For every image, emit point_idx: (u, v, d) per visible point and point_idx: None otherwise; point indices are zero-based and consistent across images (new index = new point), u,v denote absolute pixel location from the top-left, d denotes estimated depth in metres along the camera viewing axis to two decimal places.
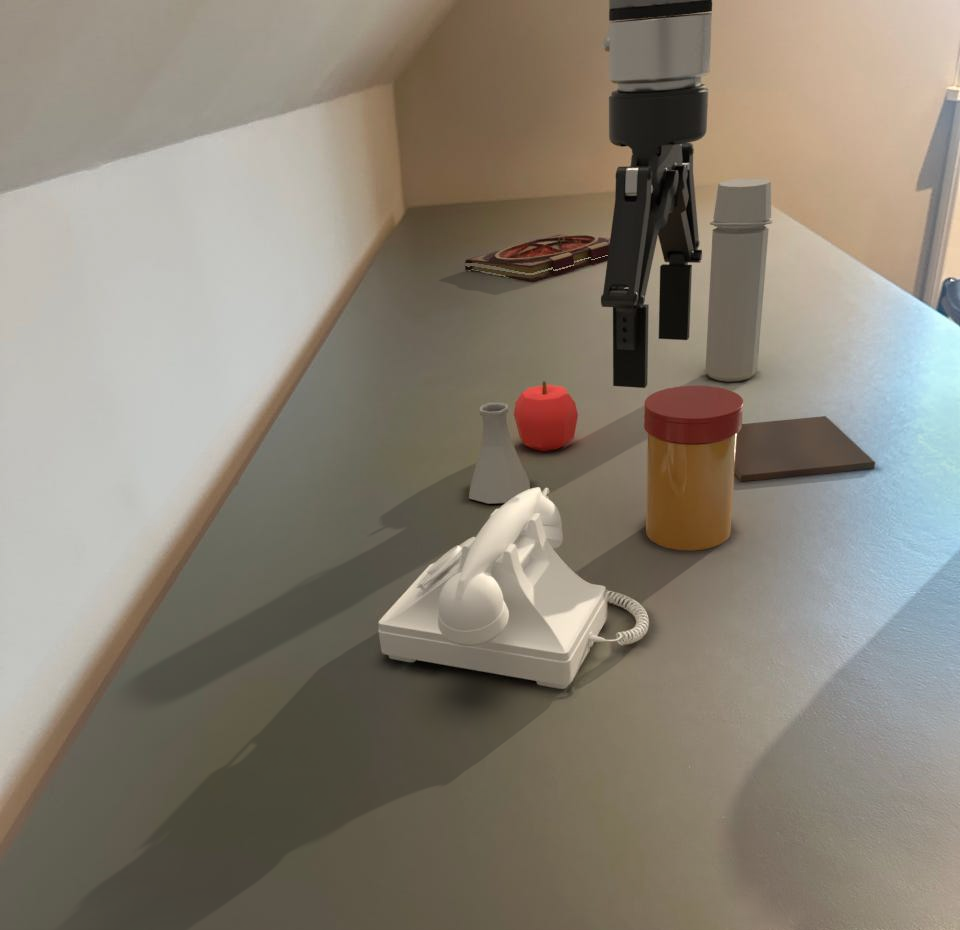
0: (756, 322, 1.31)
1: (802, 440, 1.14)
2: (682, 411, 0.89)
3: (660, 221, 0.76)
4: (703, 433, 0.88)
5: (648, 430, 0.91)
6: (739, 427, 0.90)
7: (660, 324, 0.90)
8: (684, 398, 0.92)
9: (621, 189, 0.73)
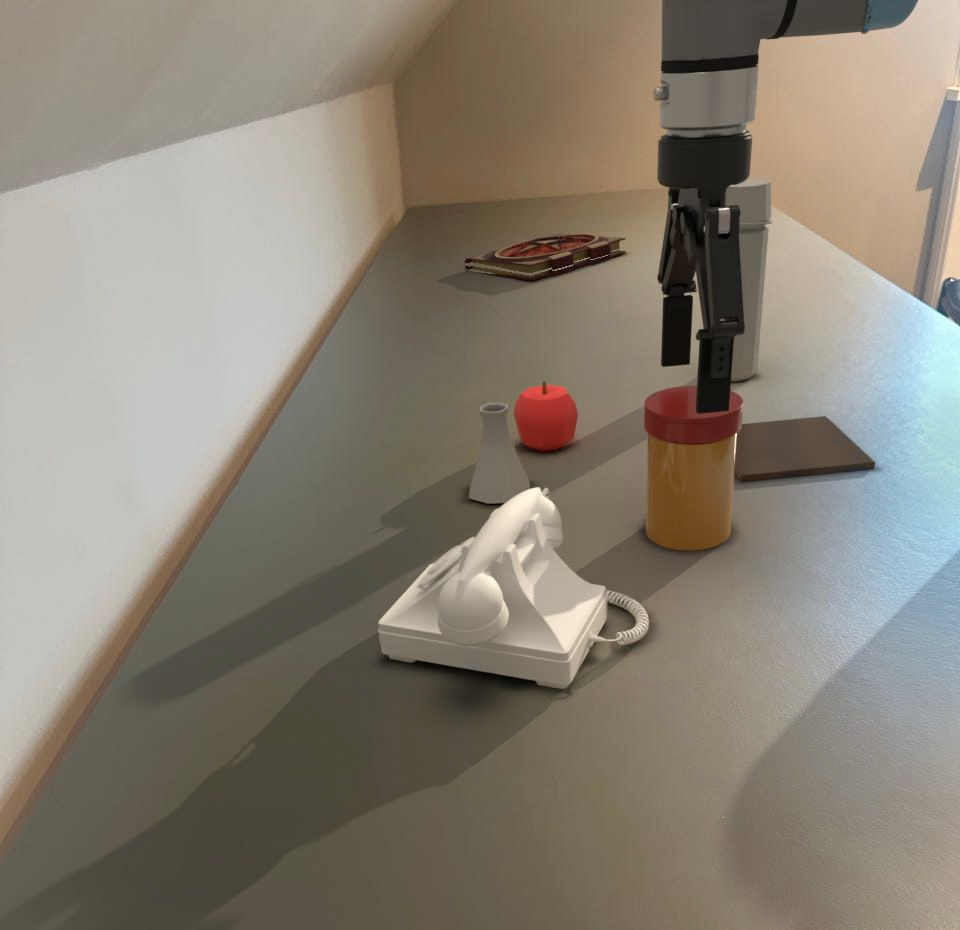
0: (756, 322, 1.31)
1: (802, 440, 1.14)
2: (682, 411, 0.89)
3: None
4: (703, 433, 0.88)
5: (648, 430, 0.91)
6: (739, 427, 0.90)
7: (664, 353, 0.95)
8: (684, 398, 0.92)
9: (715, 228, 0.76)
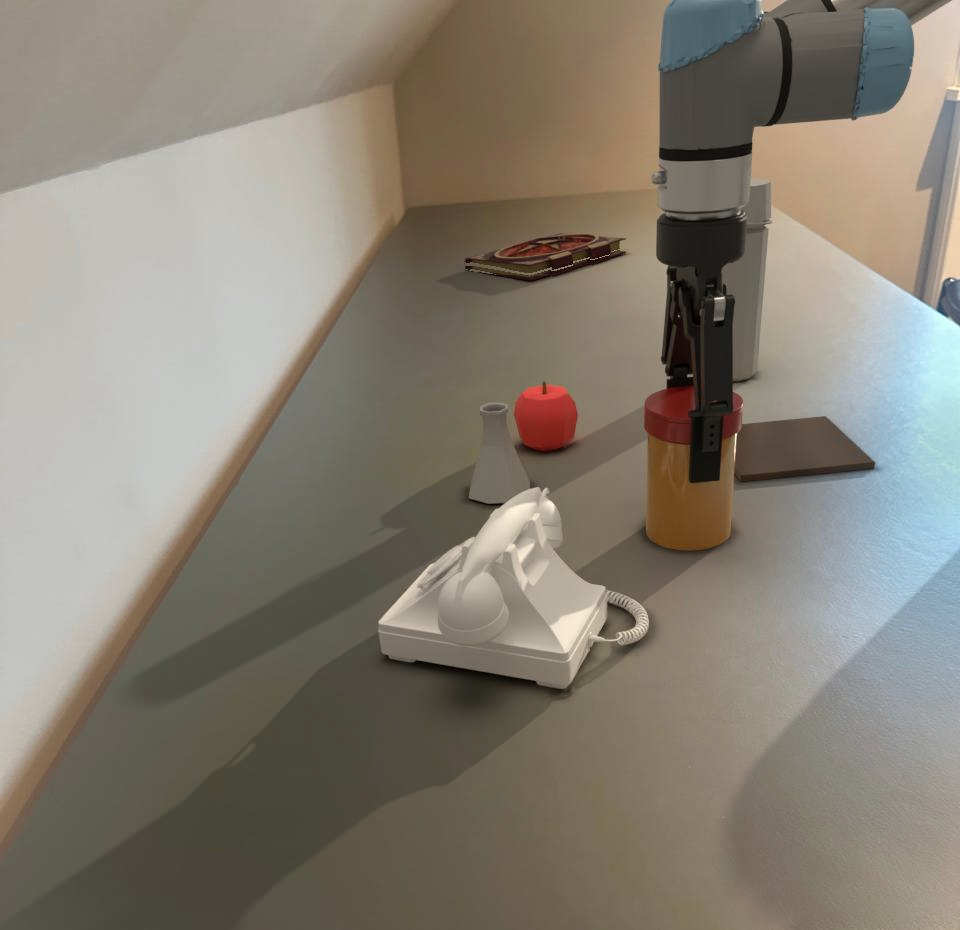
0: (756, 322, 1.31)
1: (802, 440, 1.14)
2: (682, 411, 0.89)
3: None
4: None
5: (648, 430, 0.91)
6: (739, 427, 0.90)
7: None
8: (684, 398, 0.92)
9: (710, 317, 0.80)
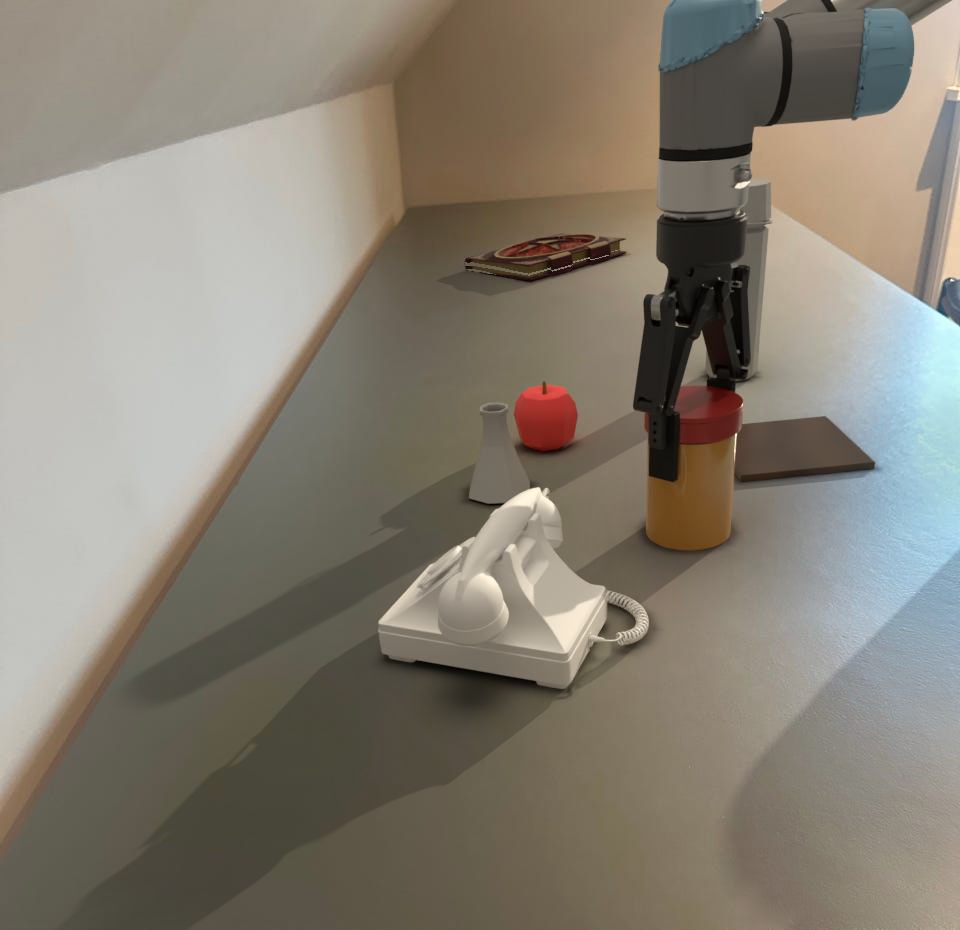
0: (756, 322, 1.31)
1: (802, 440, 1.14)
2: (722, 397, 0.91)
3: None
4: None
5: (739, 428, 0.90)
6: None
7: None
8: (692, 406, 0.90)
9: None
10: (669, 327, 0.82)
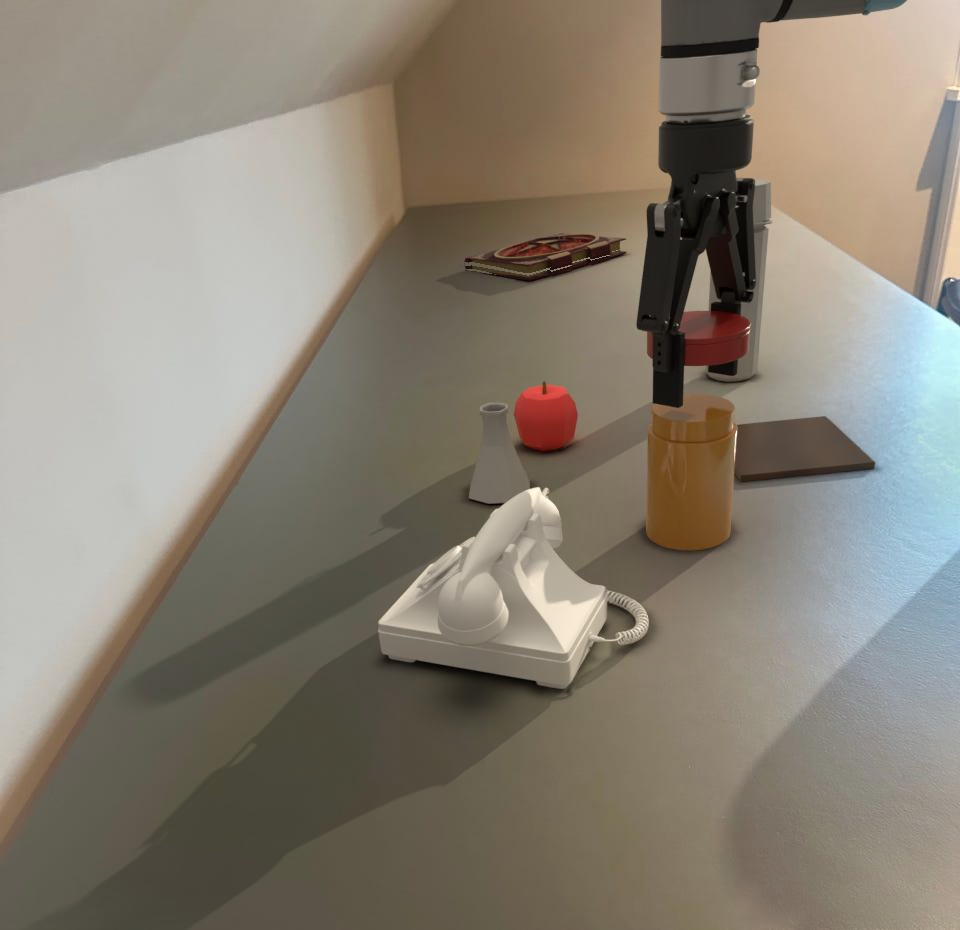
0: (756, 322, 1.31)
1: (802, 440, 1.14)
2: (727, 319, 0.88)
3: None
4: None
5: (746, 350, 0.86)
6: None
7: None
8: (697, 328, 0.86)
9: None
10: (674, 237, 0.78)
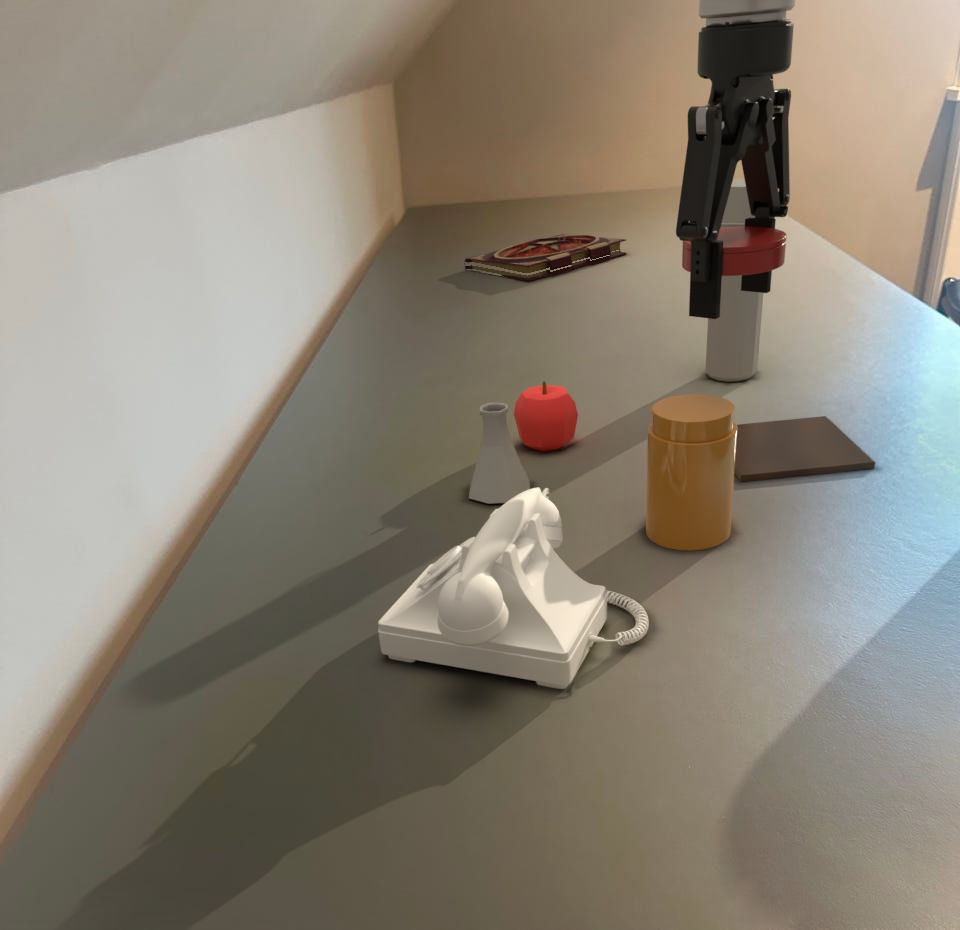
0: (756, 322, 1.31)
1: (802, 440, 1.14)
2: (762, 232, 0.88)
3: None
4: None
5: (783, 261, 0.87)
6: None
7: None
8: (734, 239, 0.87)
9: None
10: (715, 140, 0.79)
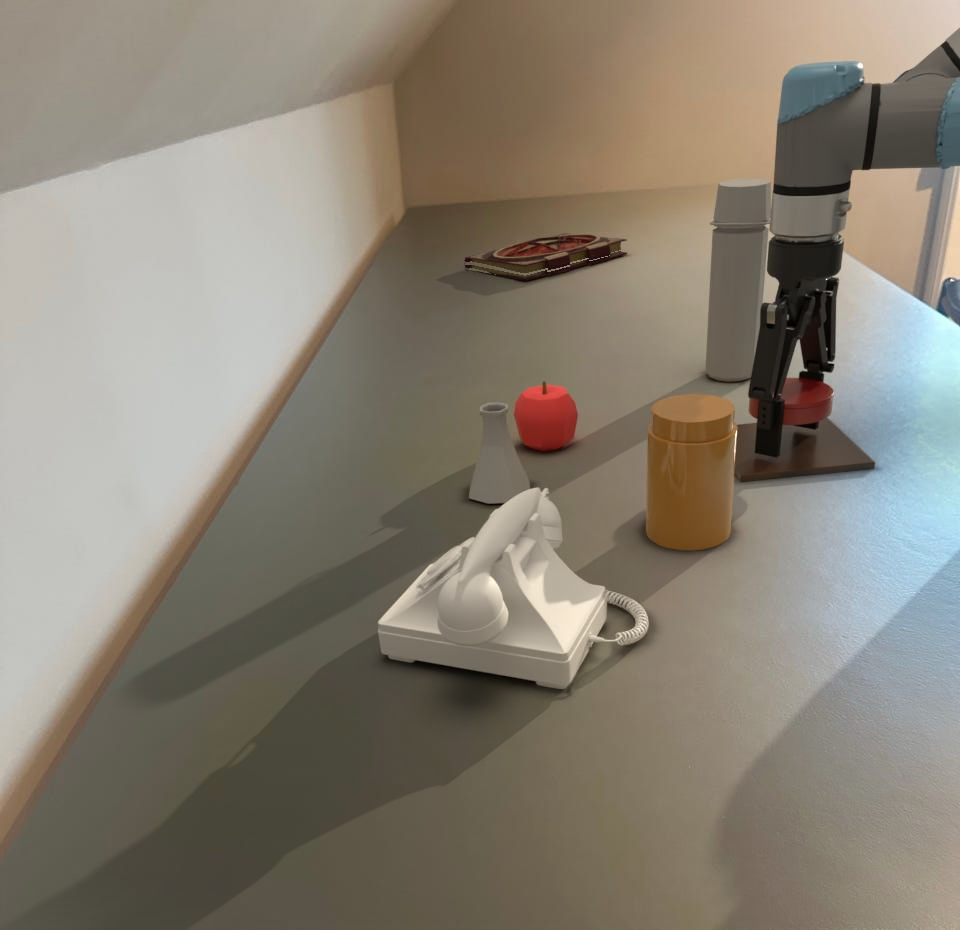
0: (756, 322, 1.31)
1: (802, 440, 1.14)
2: (814, 386, 1.10)
3: None
4: None
5: (830, 412, 1.09)
6: None
7: None
8: (791, 394, 1.09)
9: None
10: (782, 329, 1.01)
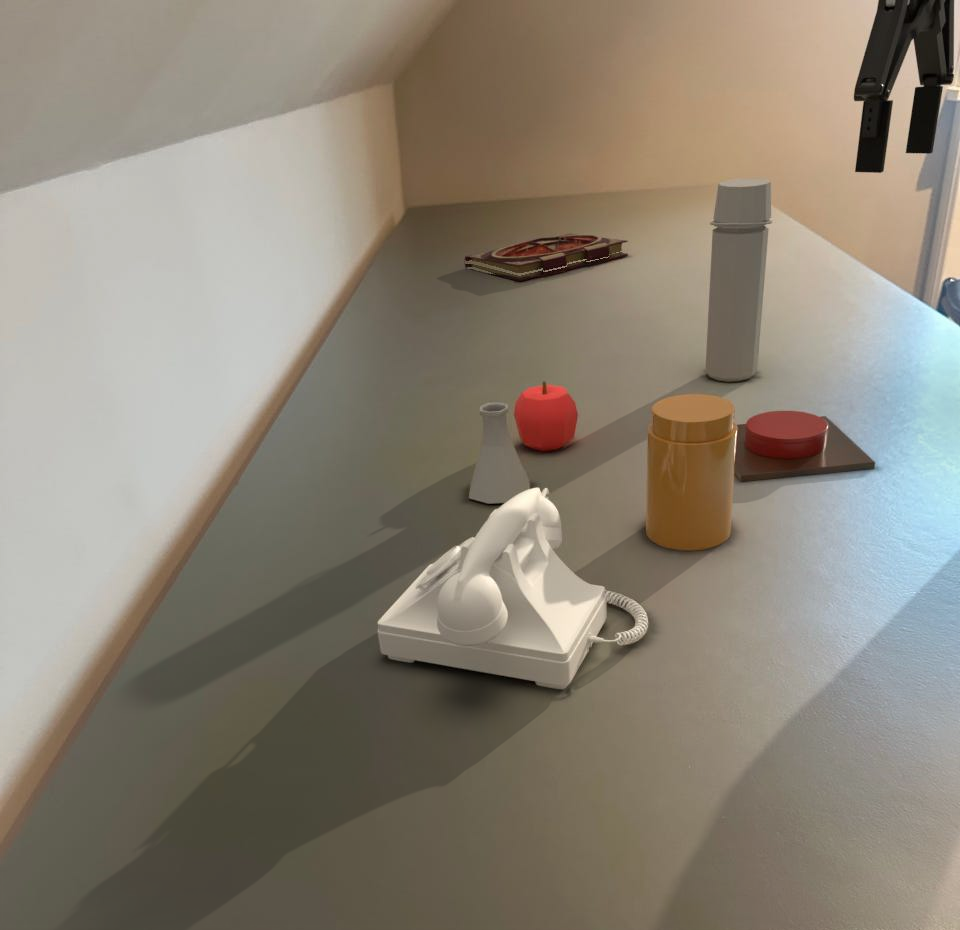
0: (756, 322, 1.31)
1: None
2: (809, 420, 1.13)
3: None
4: None
5: (825, 445, 1.11)
6: None
7: None
8: (787, 428, 1.11)
9: None
10: (902, 10, 0.93)
